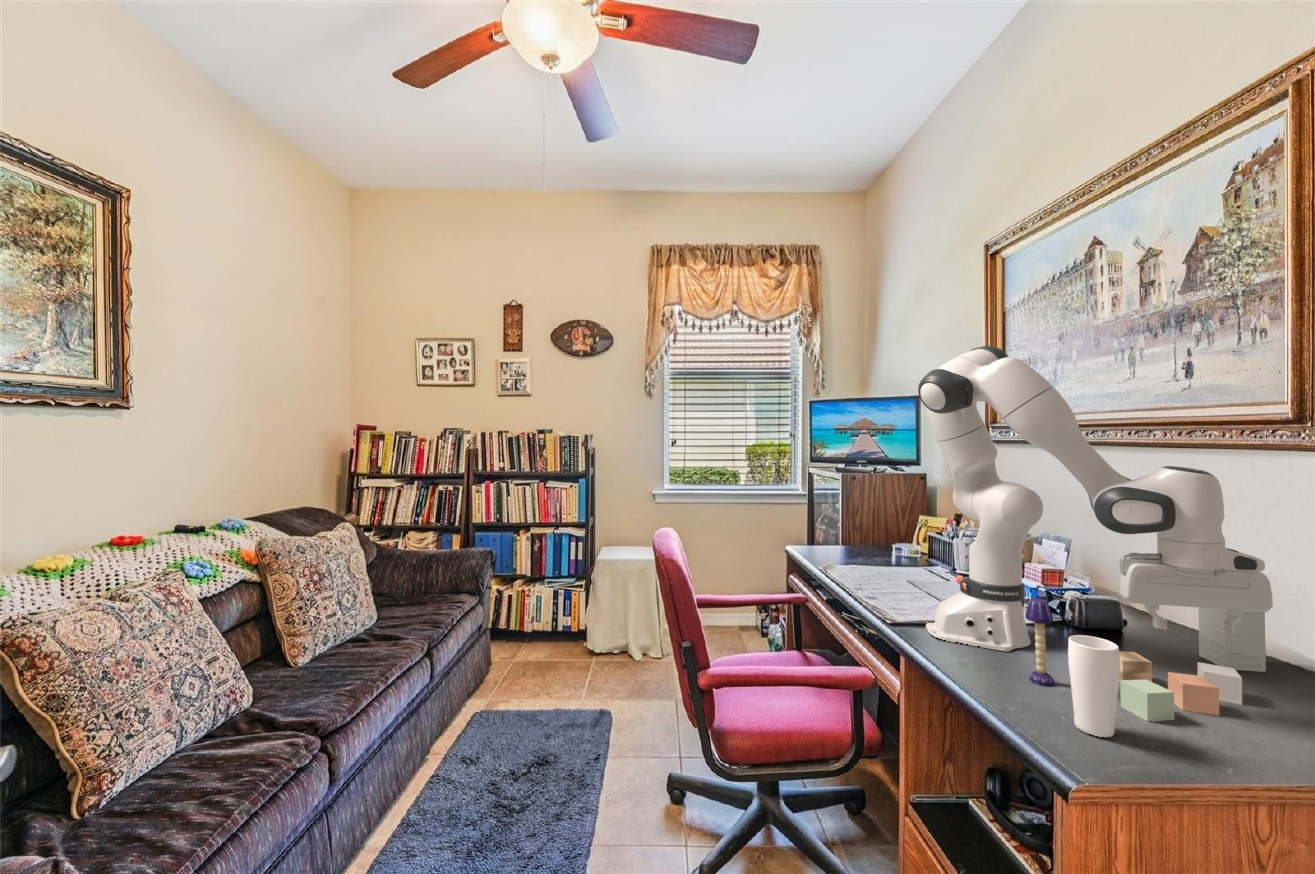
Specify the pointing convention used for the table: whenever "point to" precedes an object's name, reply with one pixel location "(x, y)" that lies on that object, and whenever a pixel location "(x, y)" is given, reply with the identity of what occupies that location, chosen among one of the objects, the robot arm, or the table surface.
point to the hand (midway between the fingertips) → (1193, 630)
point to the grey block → (1223, 681)
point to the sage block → (1147, 700)
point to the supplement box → (1233, 640)
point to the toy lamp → (1040, 639)
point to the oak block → (1134, 667)
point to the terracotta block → (1194, 693)
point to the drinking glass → (1094, 683)
